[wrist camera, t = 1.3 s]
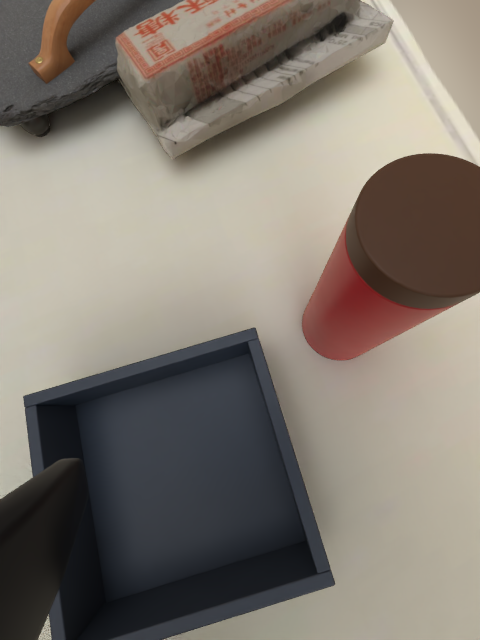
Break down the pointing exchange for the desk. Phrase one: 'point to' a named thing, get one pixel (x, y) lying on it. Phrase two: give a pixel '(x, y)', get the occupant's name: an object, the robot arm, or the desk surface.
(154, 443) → the desk bin
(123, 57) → the packaged product
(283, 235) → the desk surface
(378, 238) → the candy tube
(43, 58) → the serving tray
